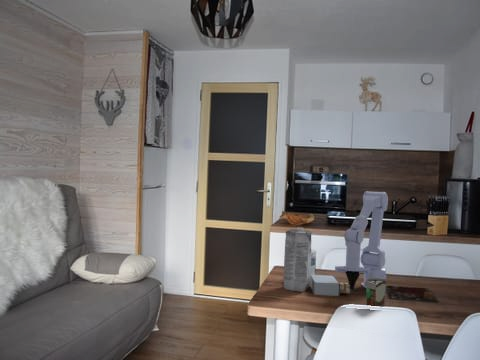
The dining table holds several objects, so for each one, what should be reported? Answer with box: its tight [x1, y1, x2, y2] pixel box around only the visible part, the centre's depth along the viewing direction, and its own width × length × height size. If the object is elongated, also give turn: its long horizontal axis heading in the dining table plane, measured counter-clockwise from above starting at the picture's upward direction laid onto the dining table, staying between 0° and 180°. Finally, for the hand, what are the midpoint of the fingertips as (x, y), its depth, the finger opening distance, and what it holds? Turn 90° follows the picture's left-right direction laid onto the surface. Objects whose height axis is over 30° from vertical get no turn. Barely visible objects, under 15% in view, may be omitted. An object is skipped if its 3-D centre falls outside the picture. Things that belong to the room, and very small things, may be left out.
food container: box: [365, 278, 388, 307], centre depth 161 cm, size 12×6×10 cm, turn 141°
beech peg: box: [339, 282, 351, 294], centre depth 176 cm, size 10×4×4 cm, turn 88°
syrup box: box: [309, 249, 317, 283], centre depth 198 cm, size 6×6×14 cm
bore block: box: [309, 274, 341, 297], centre depth 179 cm, size 10×14×5 cm
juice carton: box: [283, 227, 312, 293], centre depth 180 cm, size 9×10×27 cm
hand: (351, 289), depth 176 cm, fingers closed
